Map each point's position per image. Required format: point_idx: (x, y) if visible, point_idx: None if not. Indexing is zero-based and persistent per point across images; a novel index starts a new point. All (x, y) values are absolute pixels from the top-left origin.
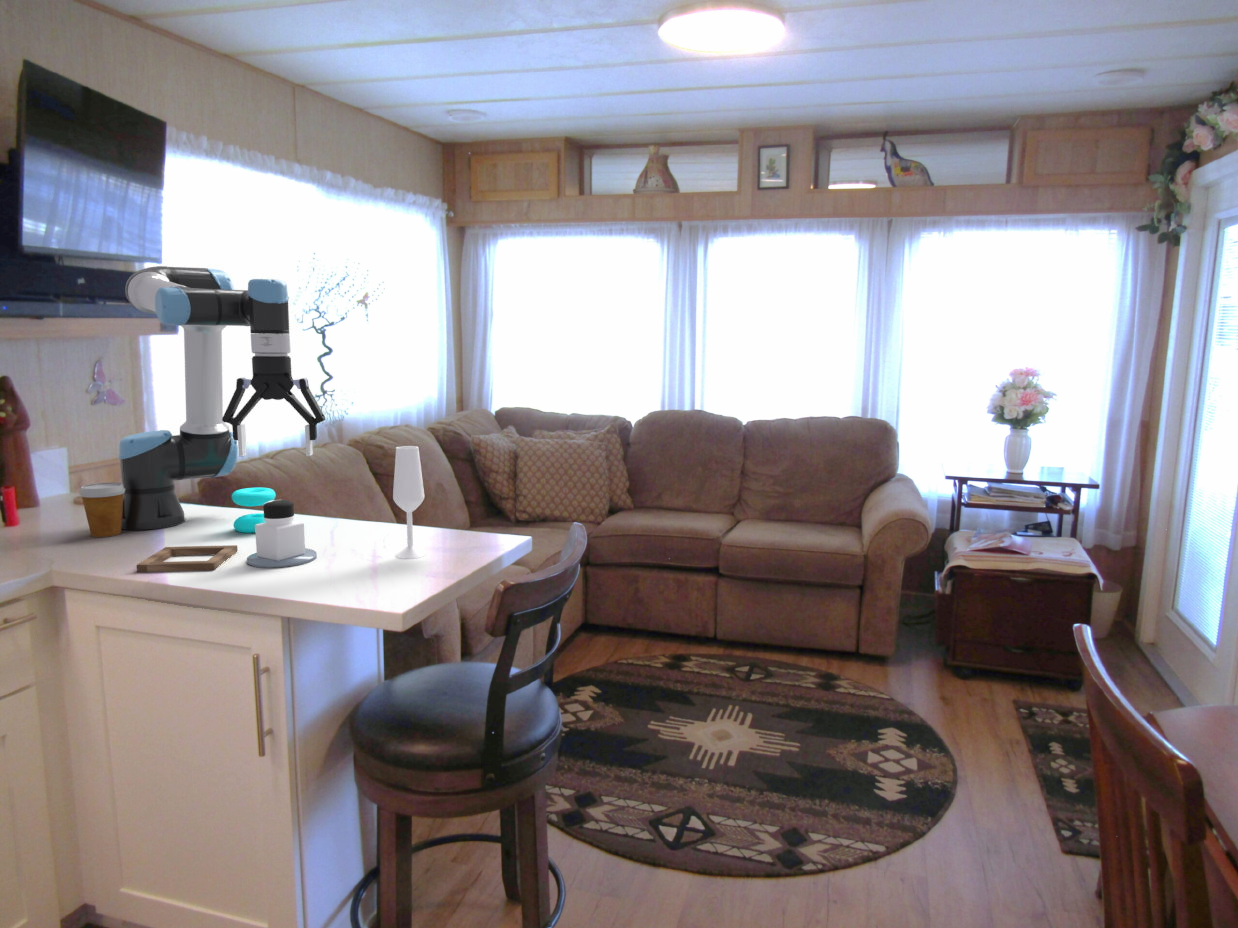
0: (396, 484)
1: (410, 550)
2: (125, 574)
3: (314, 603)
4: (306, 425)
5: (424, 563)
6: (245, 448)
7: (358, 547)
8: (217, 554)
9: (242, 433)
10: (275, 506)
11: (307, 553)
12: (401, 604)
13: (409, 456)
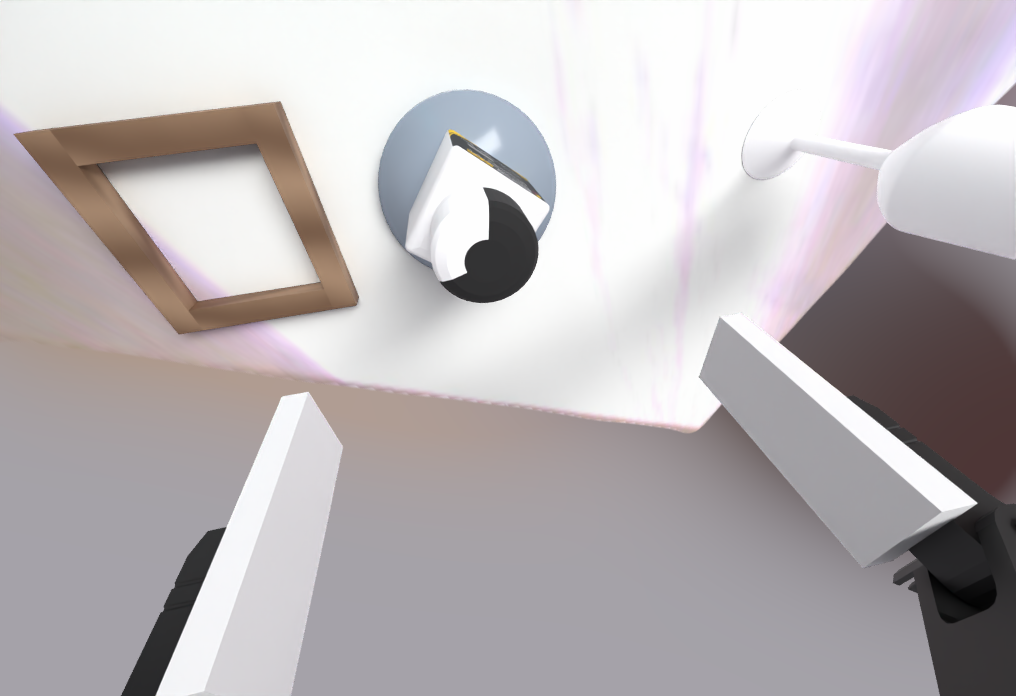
0: (952, 234)
1: (787, 158)
2: (179, 340)
3: (602, 418)
4: (886, 554)
5: (785, 218)
6: (303, 442)
7: (656, 30)
8: (302, 230)
9: (295, 606)
10: (494, 301)
11: (531, 171)
12: (703, 408)
13: None
